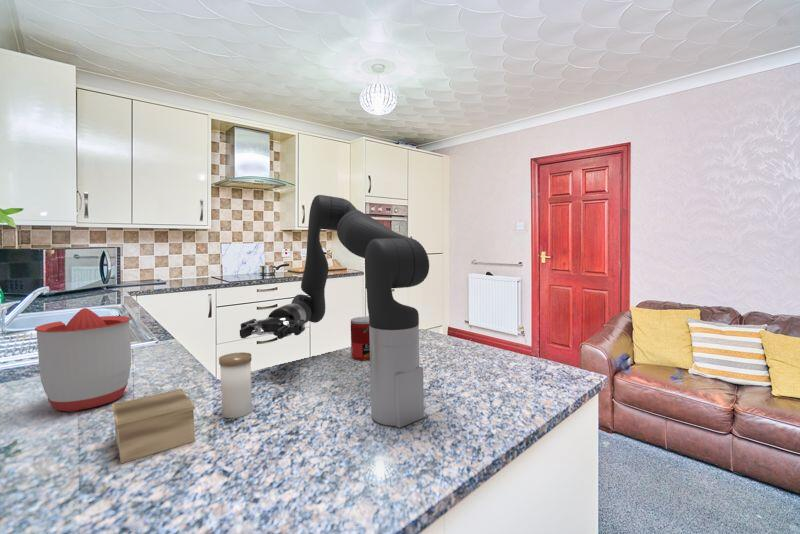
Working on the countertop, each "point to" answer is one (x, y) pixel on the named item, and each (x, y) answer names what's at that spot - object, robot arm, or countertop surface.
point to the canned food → (360, 338)
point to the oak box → (153, 424)
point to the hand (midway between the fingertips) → (260, 334)
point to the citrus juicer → (84, 360)
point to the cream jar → (236, 384)
